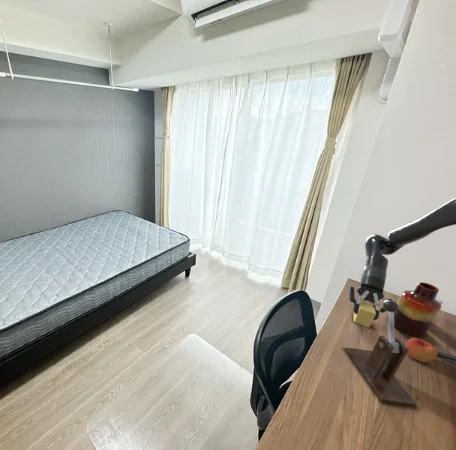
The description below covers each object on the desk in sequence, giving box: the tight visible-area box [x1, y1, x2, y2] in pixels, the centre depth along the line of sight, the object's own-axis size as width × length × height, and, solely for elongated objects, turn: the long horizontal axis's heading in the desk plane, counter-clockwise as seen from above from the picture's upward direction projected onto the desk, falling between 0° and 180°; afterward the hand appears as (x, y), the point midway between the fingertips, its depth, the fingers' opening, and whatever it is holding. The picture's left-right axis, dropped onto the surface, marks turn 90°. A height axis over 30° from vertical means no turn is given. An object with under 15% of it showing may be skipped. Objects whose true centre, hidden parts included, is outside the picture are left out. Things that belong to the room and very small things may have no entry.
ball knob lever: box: [382, 299, 399, 353], centre depth 75 cm, size 15×4×4 cm
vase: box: [394, 281, 442, 338], centre depth 96 cm, size 11×11×20 cm
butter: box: [353, 301, 376, 328], centre depth 100 cm, size 5×6×8 cm
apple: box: [405, 337, 438, 363], centre depth 84 cm, size 7×7×8 cm
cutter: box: [344, 335, 417, 407], centre depth 76 cm, size 18×9×15 cm, turn 173°
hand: (364, 316), depth 98 cm, fingers closed on butter, 5 cm apart
